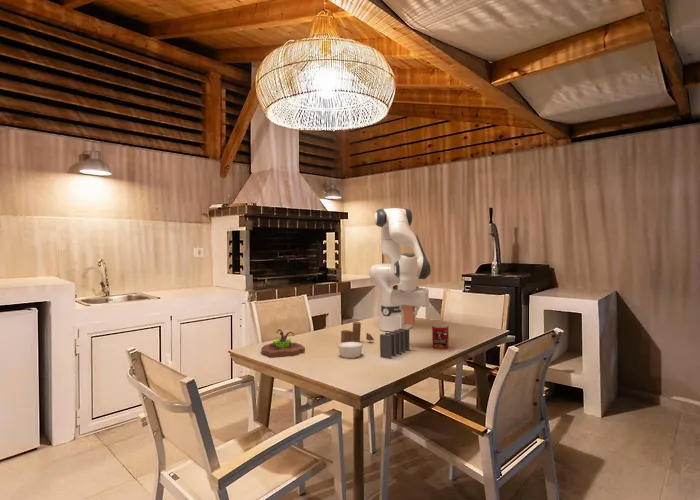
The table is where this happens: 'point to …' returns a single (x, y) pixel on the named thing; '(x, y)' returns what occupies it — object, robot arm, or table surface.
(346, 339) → the wooden block set
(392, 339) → the tile
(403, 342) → the tile
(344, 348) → the ramekin
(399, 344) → the tile
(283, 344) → the plant
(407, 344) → the tile
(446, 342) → the canned food
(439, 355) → the table surface
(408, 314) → the tile
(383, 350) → the tile
